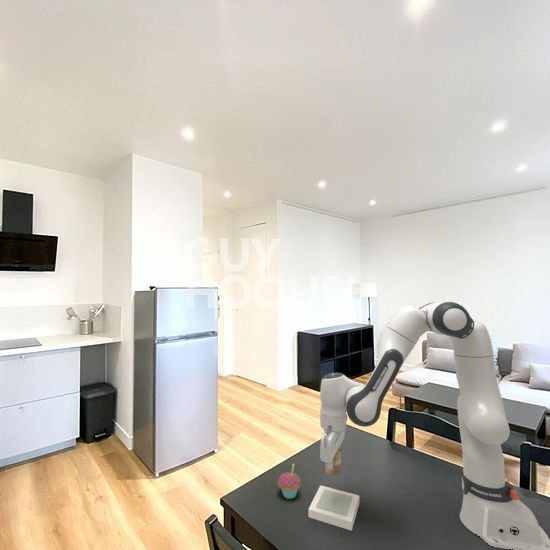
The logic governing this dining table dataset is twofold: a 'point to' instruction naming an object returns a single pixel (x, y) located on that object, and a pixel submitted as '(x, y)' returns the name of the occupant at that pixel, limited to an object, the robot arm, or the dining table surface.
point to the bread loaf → (335, 464)
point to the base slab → (334, 507)
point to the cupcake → (289, 483)
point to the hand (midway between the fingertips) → (333, 463)
